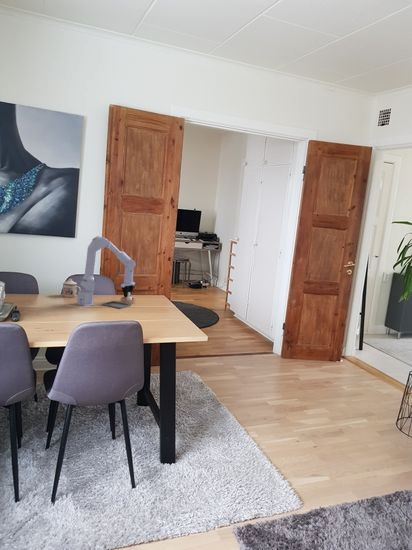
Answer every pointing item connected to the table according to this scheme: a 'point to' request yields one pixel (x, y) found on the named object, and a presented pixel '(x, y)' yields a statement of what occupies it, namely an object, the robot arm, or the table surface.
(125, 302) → the bowl
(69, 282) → the teacup with lid
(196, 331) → the table surface
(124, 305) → the parts tray
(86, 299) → the robot arm
